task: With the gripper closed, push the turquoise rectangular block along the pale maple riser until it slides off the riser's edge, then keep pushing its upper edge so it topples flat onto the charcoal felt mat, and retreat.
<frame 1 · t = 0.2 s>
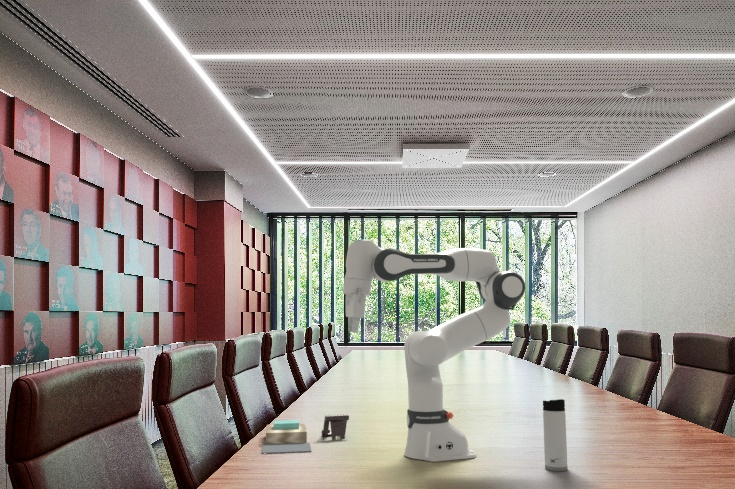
hand: (352, 332, 197), 39 cm above the table, tool pointing down, fingers open, 8 cm apart
turquoise rectangular block: (286, 427, 223), point 4 cm above the table, touching riser
portable electronic device stand: (335, 438, 225), on the table
travel mug: (556, 469, 178), on the table
riser: (286, 439, 221), on the table
mat: (286, 448, 206), on the table
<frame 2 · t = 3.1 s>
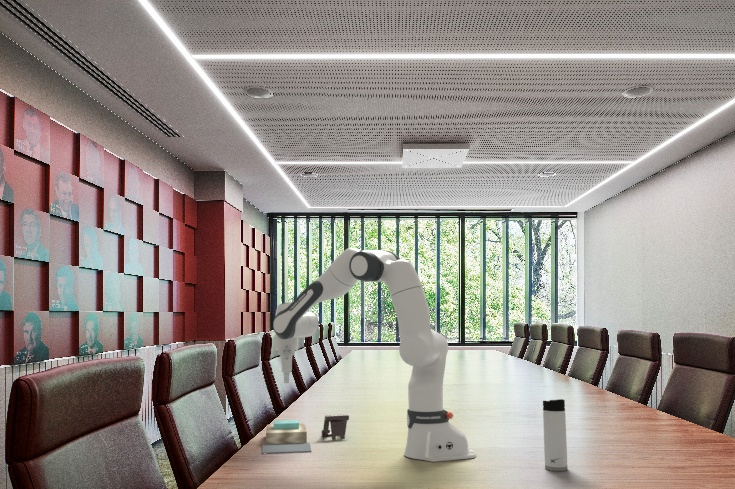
hand: (286, 382, 232), 19 cm above the table, tool pointing down, fingers closed
nothing on the table moved.
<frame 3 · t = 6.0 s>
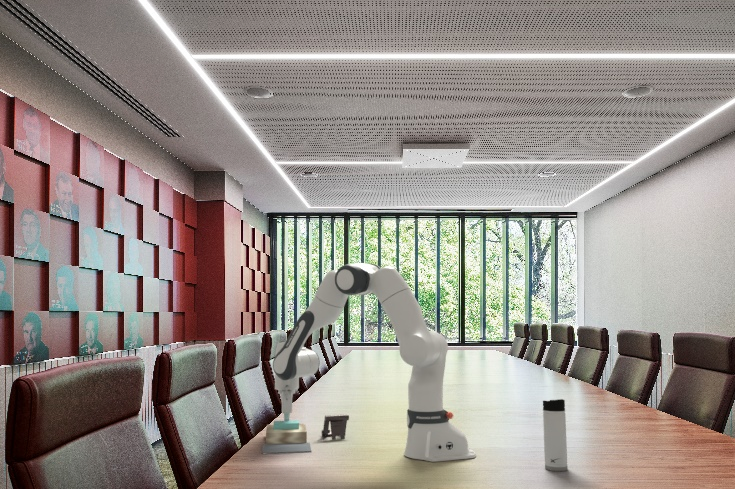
hand: (286, 422, 227), 5 cm above the table, tool pointing down, fingers closed
turquoise rectangular block: (286, 427, 222), point 4 cm above the table, touching gripper, riser
everything else where it was.
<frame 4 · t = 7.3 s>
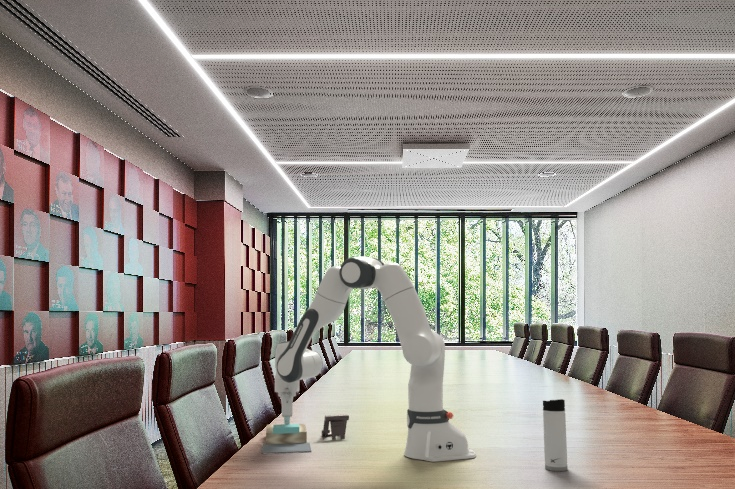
hand: (286, 426, 220), 5 cm above the table, tool pointing down, fingers closed
turquoise rectangular block: (286, 431, 215), point 4 cm above the table, touching gripper
everything else where it was.
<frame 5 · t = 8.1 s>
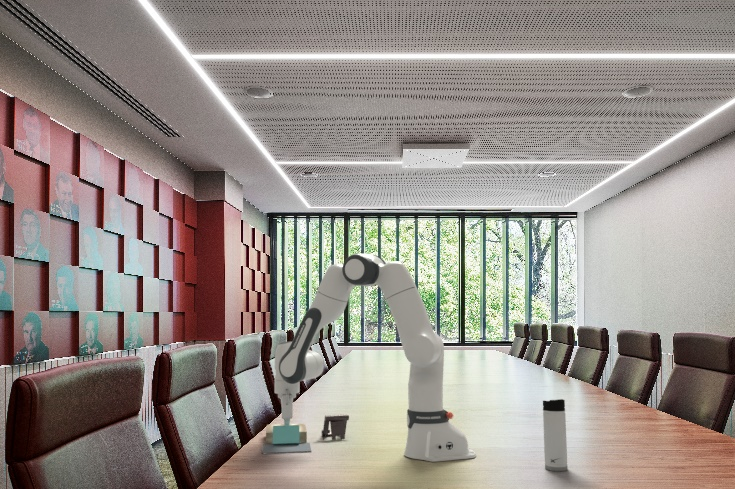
hand: (286, 428, 215), 5 cm above the table, tool pointing down, fingers closed
turquoise rectangular block: (286, 435, 213), point 3 cm above the table, tilted 66°, touching gripper, mat
everything else where it was.
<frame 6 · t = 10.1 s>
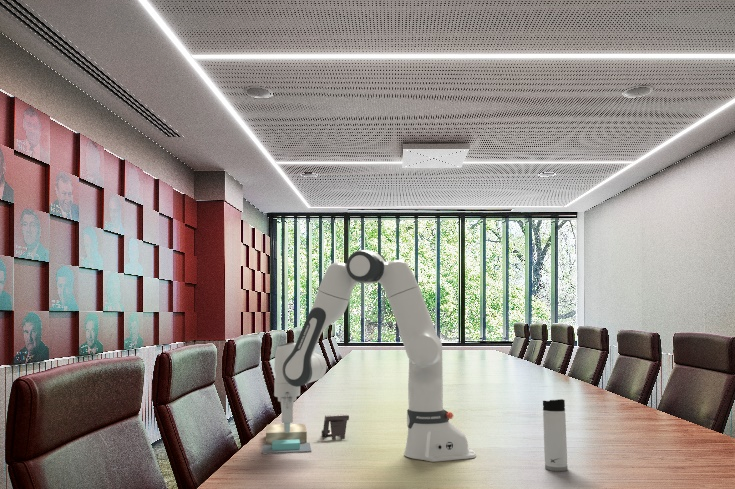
hand: (287, 432, 209), 5 cm above the table, tool pointing down, fingers closed
turquoise rectangular block: (286, 441, 206), point 2 cm above the table, tilted 180°, touching mat
everything else where it was.
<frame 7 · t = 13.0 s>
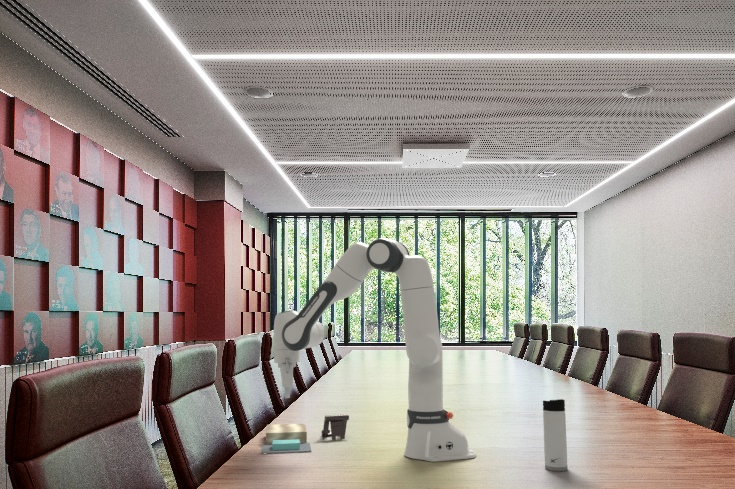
hand: (287, 397, 214), 16 cm above the table, tool pointing down, fingers closed
nothing on the table moved.
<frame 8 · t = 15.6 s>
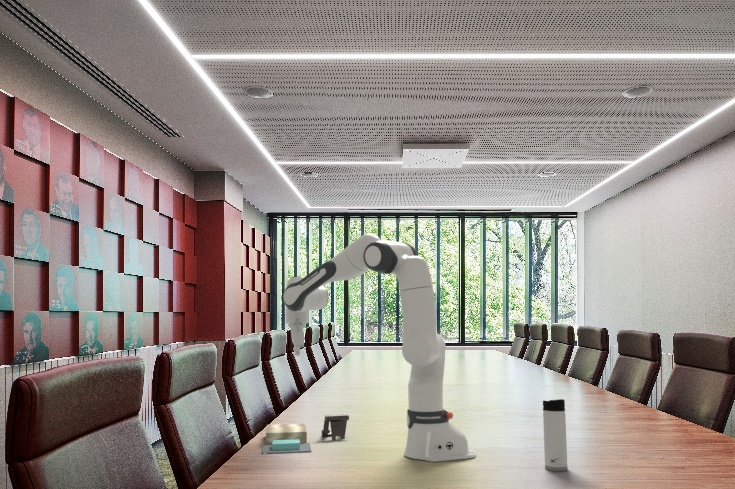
hand: (297, 355, 235), 29 cm above the table, tool pointing down, fingers closed
nothing on the table moved.
at the end: turquoise rectangular block inside the target area on the mat (0.5 cm from its centre), point 2.4 cm above the mat's base; turquoise rectangular block moved 16.6 cm from its start; the gripper is holding nothing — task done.
